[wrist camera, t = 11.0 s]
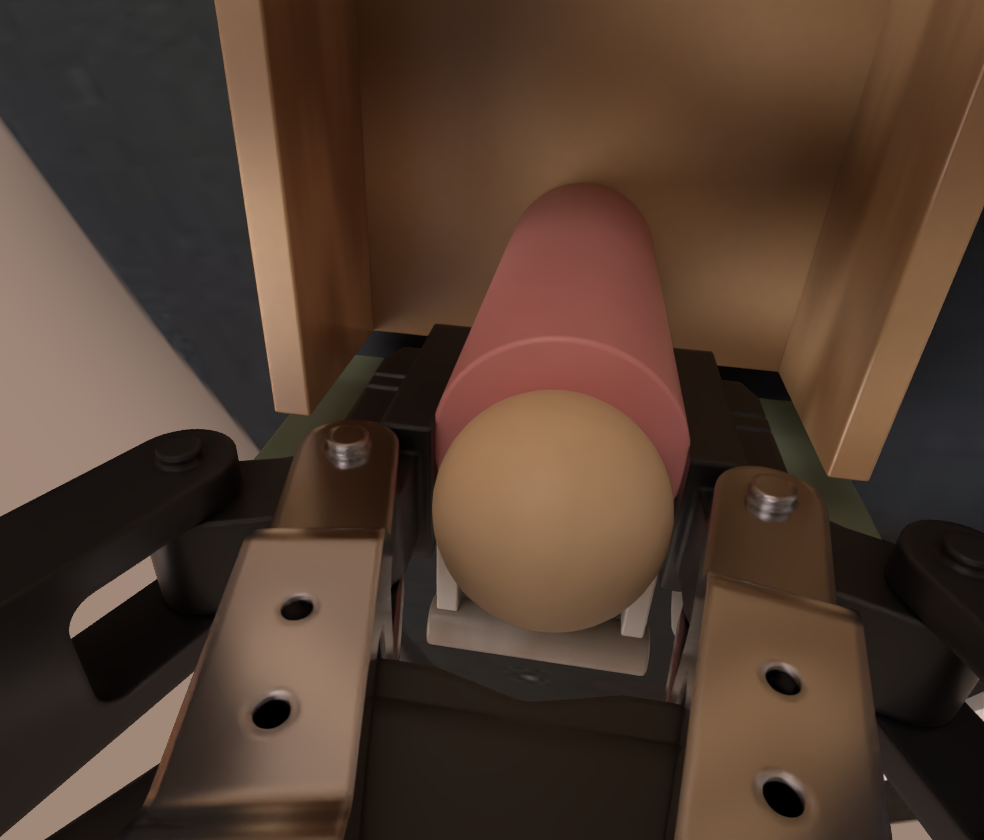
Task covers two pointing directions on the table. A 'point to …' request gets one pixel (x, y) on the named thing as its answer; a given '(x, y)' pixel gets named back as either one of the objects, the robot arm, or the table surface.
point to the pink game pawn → (563, 422)
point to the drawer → (634, 174)
